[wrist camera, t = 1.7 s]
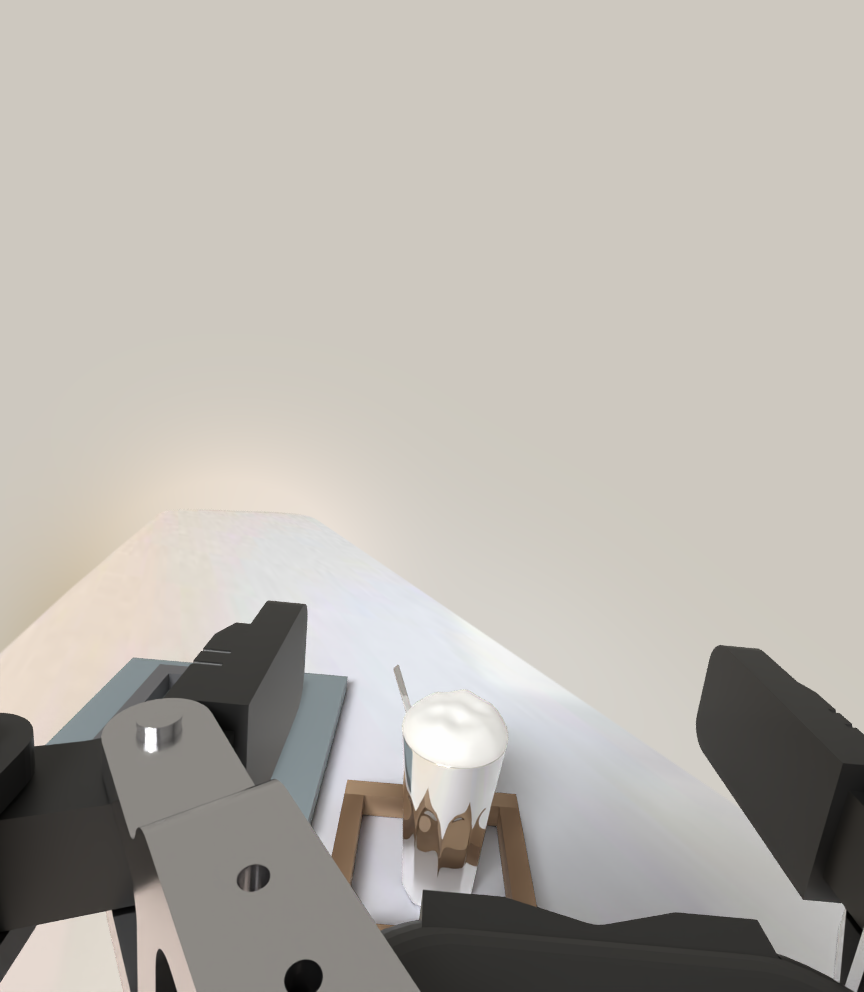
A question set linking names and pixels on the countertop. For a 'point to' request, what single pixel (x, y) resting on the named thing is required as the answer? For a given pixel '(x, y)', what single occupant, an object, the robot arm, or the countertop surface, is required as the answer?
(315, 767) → the port plate
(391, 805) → the square wooden frame
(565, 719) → the countertop surface
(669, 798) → the countertop surface
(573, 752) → the countertop surface
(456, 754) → the milkshake
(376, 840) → the countertop surface
